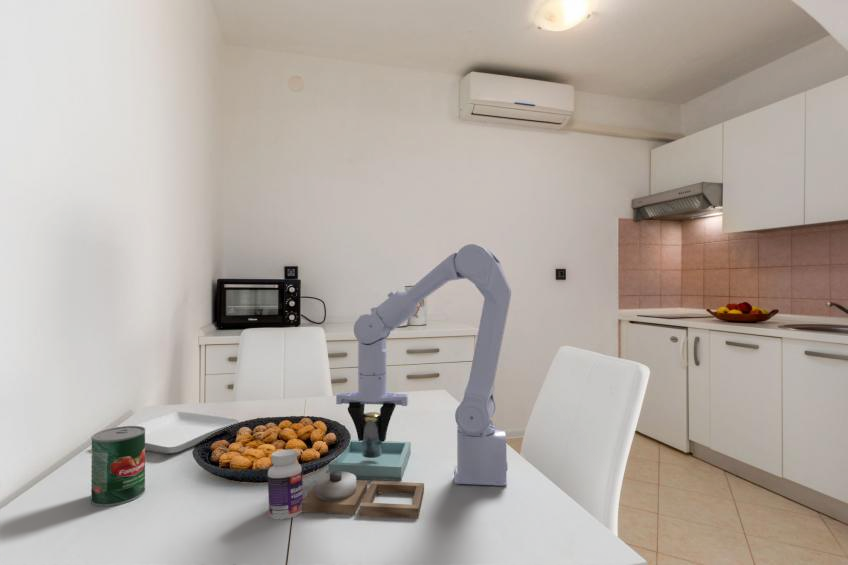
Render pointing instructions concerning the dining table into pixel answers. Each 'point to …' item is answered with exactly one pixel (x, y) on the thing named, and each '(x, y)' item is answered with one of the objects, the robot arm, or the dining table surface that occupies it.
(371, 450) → the tin can
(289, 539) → the dining table surface
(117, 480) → the canned tomato
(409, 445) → the tray
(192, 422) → the salad plate
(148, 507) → the dining table surface
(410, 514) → the block
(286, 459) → the pill bottle
